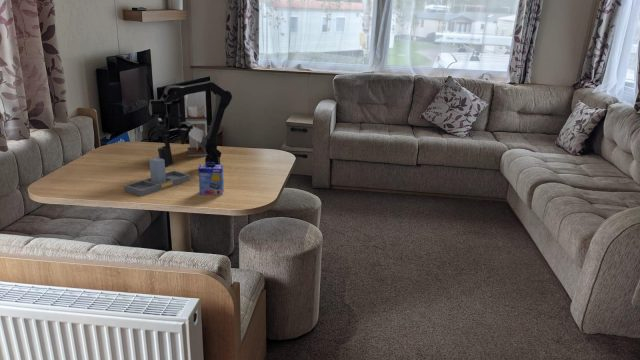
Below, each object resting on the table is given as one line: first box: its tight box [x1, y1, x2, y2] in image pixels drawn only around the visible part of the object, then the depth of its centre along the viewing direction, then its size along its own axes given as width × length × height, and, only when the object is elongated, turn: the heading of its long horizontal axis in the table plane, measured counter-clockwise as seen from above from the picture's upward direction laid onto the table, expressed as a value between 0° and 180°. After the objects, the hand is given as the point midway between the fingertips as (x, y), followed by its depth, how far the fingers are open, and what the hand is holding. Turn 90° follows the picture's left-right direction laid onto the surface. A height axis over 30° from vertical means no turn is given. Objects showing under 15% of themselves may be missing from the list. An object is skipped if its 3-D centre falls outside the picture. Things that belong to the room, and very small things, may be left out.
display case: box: [183, 91, 208, 157], centre depth 264 cm, size 11×11×35 cm
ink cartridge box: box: [198, 162, 225, 196], centre depth 210 cm, size 10×6×14 cm, turn 95°
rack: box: [124, 170, 191, 197], centre depth 219 cm, size 27×11×2 cm, turn 148°
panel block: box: [149, 157, 166, 184], centre depth 217 cm, size 4×5×11 cm
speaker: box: [157, 143, 174, 168], centre depth 248 cm, size 8×6×10 cm
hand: (175, 146), depth 233 cm, fingers open, 9 cm apart
